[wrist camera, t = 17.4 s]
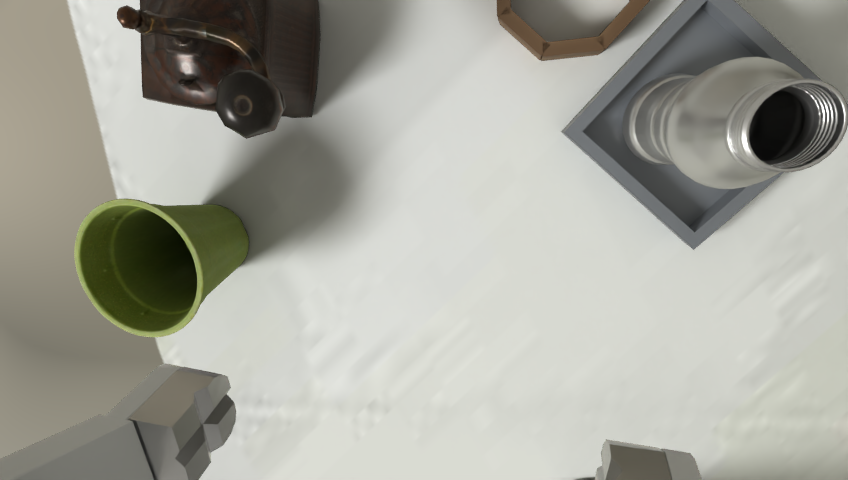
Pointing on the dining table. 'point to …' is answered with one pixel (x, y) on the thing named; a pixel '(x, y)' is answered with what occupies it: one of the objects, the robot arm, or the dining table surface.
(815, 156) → the plastic bottle
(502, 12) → the walnut collar
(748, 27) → the charcoal tray
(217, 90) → the manual coffee grinder
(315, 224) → the dining table surface
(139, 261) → the plant pot
